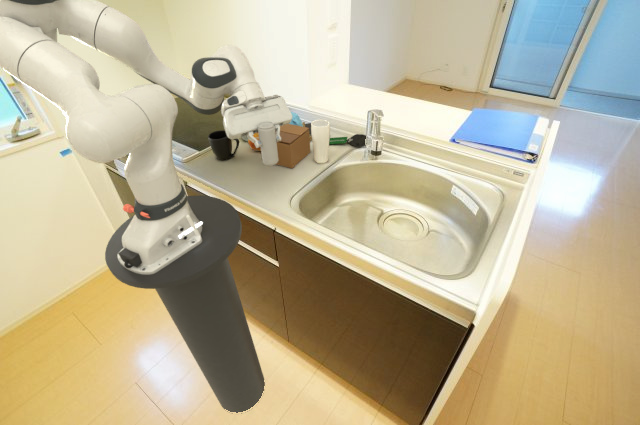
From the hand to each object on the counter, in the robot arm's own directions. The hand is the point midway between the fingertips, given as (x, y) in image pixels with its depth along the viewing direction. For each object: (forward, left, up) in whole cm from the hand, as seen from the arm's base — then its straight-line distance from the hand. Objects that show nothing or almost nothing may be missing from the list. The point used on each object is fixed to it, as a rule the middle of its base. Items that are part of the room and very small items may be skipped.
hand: (269, 144), depth 91 cm
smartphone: (+44, +6, -18) cm, 48 cm away
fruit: (+25, +24, -19) cm, 40 cm away
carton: (+24, +10, -19) cm, 32 cm away
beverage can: (0, +1, -7) cm, 7 cm away
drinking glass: (+27, -3, -19) cm, 33 cm away
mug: (+13, +31, -19) cm, 39 cm away
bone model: (+46, +14, -20) cm, 52 cm away
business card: (+40, -2, -18) cm, 44 cm away
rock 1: (+26, +34, -18) cm, 47 cm away
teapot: (+40, +22, -19) cm, 50 cm away
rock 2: (+47, -10, -15) cm, 50 cm away
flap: (+21, +10, -9) cm, 25 cm away
